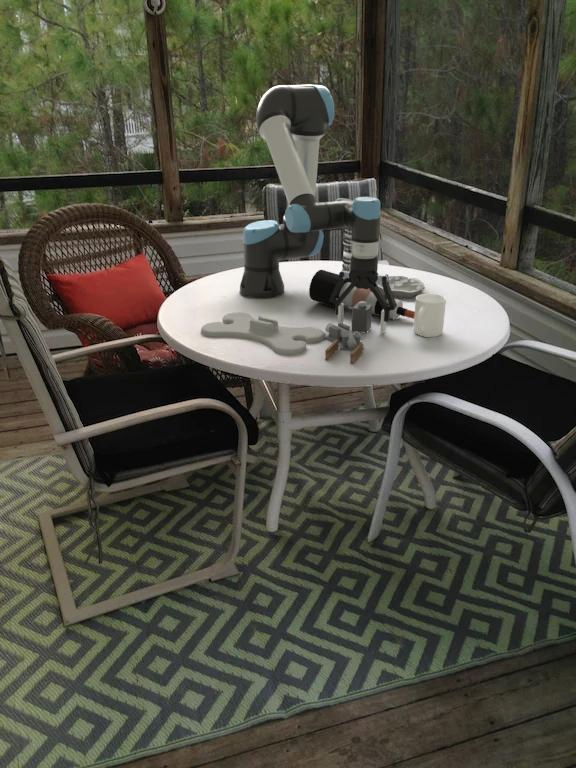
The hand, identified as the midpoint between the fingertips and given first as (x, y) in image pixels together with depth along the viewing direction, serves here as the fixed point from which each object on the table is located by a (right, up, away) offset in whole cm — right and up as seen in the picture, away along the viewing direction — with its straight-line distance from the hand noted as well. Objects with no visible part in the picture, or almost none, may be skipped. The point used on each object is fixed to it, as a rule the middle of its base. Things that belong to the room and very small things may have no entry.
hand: (361, 328), depth 191 cm
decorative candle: (+3, +24, +51) cm, 57 cm away
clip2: (-4, -6, -12) cm, 14 cm away
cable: (+2, +6, +14) cm, 15 cm away
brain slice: (+16, +15, +33) cm, 40 cm away
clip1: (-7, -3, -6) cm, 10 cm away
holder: (-29, -2, -3) cm, 29 cm away
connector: (0, 0, 0) cm, 0 cm away
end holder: (-7, -9, -18) cm, 21 cm away
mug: (+18, -2, -4) cm, 18 cm away
